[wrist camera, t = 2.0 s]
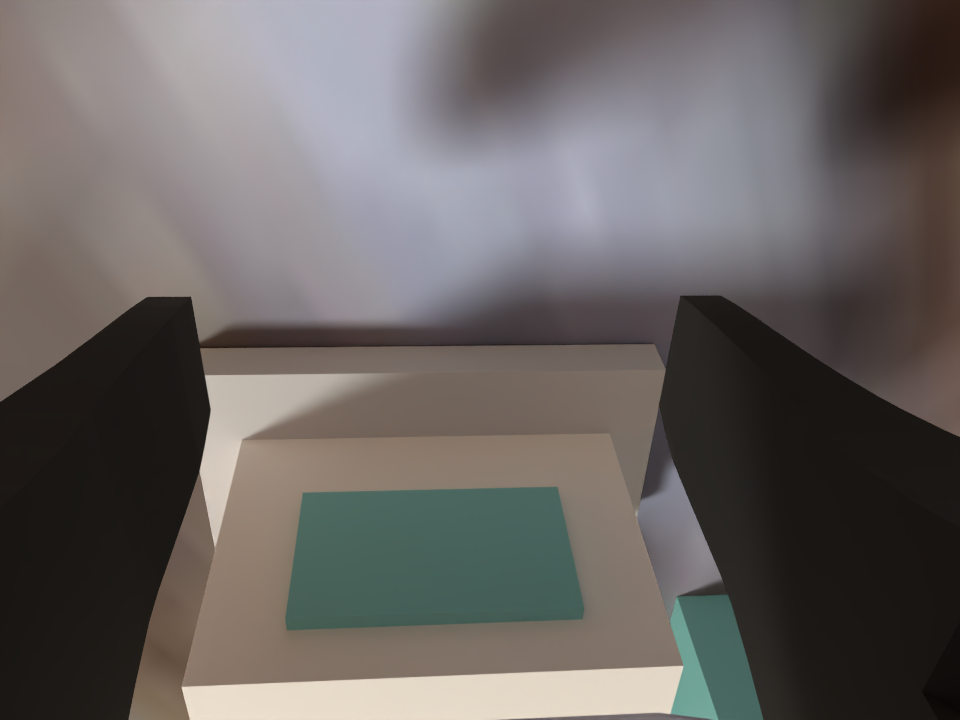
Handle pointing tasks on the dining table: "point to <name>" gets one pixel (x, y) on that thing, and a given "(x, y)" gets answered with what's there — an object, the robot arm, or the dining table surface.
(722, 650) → the teal block
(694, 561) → the dining table surface
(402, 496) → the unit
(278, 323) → the dining table surface
